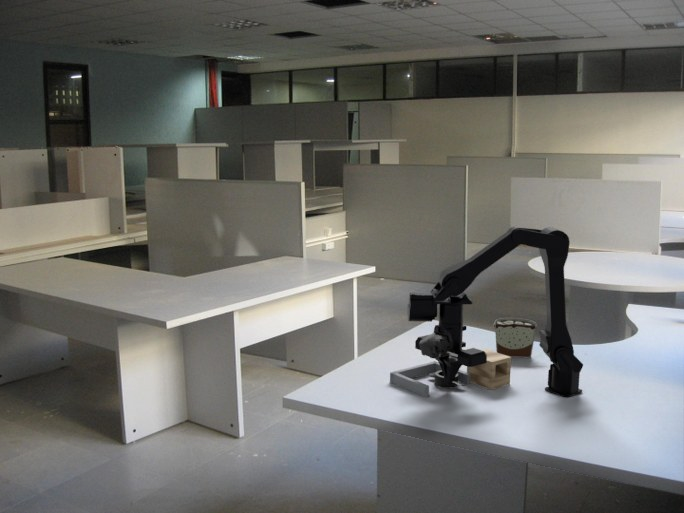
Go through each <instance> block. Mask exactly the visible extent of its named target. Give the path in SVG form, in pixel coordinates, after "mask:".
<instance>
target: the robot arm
mask: <svg viewBox="0 0 684 513" xmlns="http://www.w3.org/2000/svg"><path fill="white" fill-rule="evenodd" d="M519 246H525V247H526V246H527V247H531V248H535V249H538V250H539V254H540V257H541V260H542V262H543V266H544V280H545V284H544V285H545V303H546V325H545V328H544V329H538V333H539V336H540V337H539V338H540V340H539V341H540V342H539V347H540V348H541V349H542V351H543V353H544V354H545V355H546V356H547V357H548V358H549V361H550V362H551V364H549V369H548V375H547V386H546V387H544V390H545V391H547V392H550V393H551V394H552V393H553V394H555V395H559V396H562V397H565V398H570V397H572V396H574V395H578V394H580V393H581V394H582V393H583V389H580V388H579V387H580V376H581V375H580V373H581V371H582V369H583V367H584V364H583V363H582V362H581V360H580V359H579V358H578V357H577V356H576V355H575V350H574V346H573V342H572V338H571V336H570V333H569V329H568V327H567V312H566V289H565V288H566V287H565V284H566V282H565V266H566V262H567V258H568V257H569V251H570V237H569V235H568V234H567V233H565V232H564V231H562V230H560V229H558V228H555V227H551V226H549V227H544V228H543V229H538V228H537V229H536V228H529V227H521V226H518V225H514V226H512V227H509V228H508V230H507V231H506V232H504V233H503V234H502V235H500V236H499V237H497V238H496V239H494V240H493V241H491V243H489V244H488V245H486V246H484V247H483V248H482V249H480V250H479V251H477V252H476V253H475V254H473V255H472V256H471V257H470V258H468V259H466V260H464V261H459V262H458V263H454V264H452V265H451V266H448V267H447V268H444V269H443V270H442V271H441V272H440V274H439V277H438V281H437V283H436V284H435V285H434V286H433V287H432V289H431V290H430V292H429V293H421V292H420V293H419V292H409V296H408V303H407V321H408V322H430V323H431V322H433V320H435V319H436V318H438V324H435V325H434V329H433V333H430V334H426V335H421V336H418V337H417V338H416V340H415V342H414V343H415V345H414V348H415V349H416V350H419V351H420V352H421V355H422V356H426V357H429V358H430V359H435V361H436V362H439V364H440V366H441V369H442V372H443V376H444V379H445V382H446V384H448V385H450V384H452V382H453V380H454V378H455V376H456V374H457V372H458V371H459V370H461V369H460V368H462V366H465V367H466V368H467V367H473V366H477V365H481V364H484V363H487V354H486V353H485V352H484V351H482V350H483V349H478V348H475V347H472V348H466V347H467V346H466V344H467V343H466V342H465V341H463V336H464V335H463V332H464V331H467V325H464V310H465V309H464V307H465V306H464V305H472V304H473V300H471V298H470V297H468V295H467V294H466V292H465V291H466V290H467V289H468V288H469V287H470V286H471V285H472V284H473V282H474V281H475V280H476V279H477V277H479V275H480V274H481V273H483V272H484V271H485V270H487V269H488V268H489V267H492V265H494V264H495V263H497V262H498V261H500V260H501V259H502V258H504V257H505V256H507V255H509V253H511V252H512V251H513V250H515V249H516V248H518V247H519ZM438 305H439V308H438ZM438 310H439V311H438ZM437 316H438V317H437ZM464 348H466V349H464Z"/></svg>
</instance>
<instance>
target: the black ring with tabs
mask: <svg viewBox="0 0 684 513" xmlns="http://www.w3.org/2000/svg"><path fill="white" fill-rule="evenodd" d="M427 377H431V378H433V379H434V382H433V383H434V385H435V386H436V387H438V388H442V389H453V388H457V387H458V386H461V387H464V386H465V387H466V385H467V384H464V383H462V382H459V381H458V373H457V374H456V376H455V378H454V380H453V382H452V384H450V385H448V384H446V382H445V379H444V376H443V372H442V370H440V371H436V372H434V373H430V374H427Z"/></svg>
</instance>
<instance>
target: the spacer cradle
mask: <svg viewBox="0 0 684 513" xmlns="http://www.w3.org/2000/svg"><path fill="white" fill-rule="evenodd" d="M440 370H442V369H441V366H440V364H439V362H438V361H437V360H434V361H429V362H427V363H422V364H418V365H414V366H411V367H407V368H403V369H399V370H395V371H390V372H389V383H391V384H393V385H397V387H400V388H403V389H406V390H408V391H410V392H413V393H414V394H418V395H420V396H422V397H423V398H426V397H429V396H430V386H429V384H428V385H427V384H425V383H423V382H421V381H418V380H416V379H415V378H418V377H423V376H425V375H427V376H428V375H429V374H430V373H435V372H436V371H440ZM457 373H458V382H459V383H461V384H463V385H471V384H472V383H471V374H470V373H467V371H465V370H464V371H463V370H461V369H459V371H458V372H457Z"/></svg>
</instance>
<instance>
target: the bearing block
mask: <svg viewBox="0 0 684 513" xmlns="http://www.w3.org/2000/svg"><path fill="white" fill-rule="evenodd" d="M481 350H482V351H484V352H485V353H486V354H487V363H484V364H481V365H477V366H473V367H467V366H466V372H467V373H470V374H471V384H474V385H477V386H479V387H482V388H485V389H488V390H490V391H492V390H495V389H499V388H502V387H505V386H509V385H510V384H511V369H512V365H511V364H512V357H509V356H506V355H503V354H500V353H497V351H493V350H490V349H486V348H485V349H481Z"/></svg>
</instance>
